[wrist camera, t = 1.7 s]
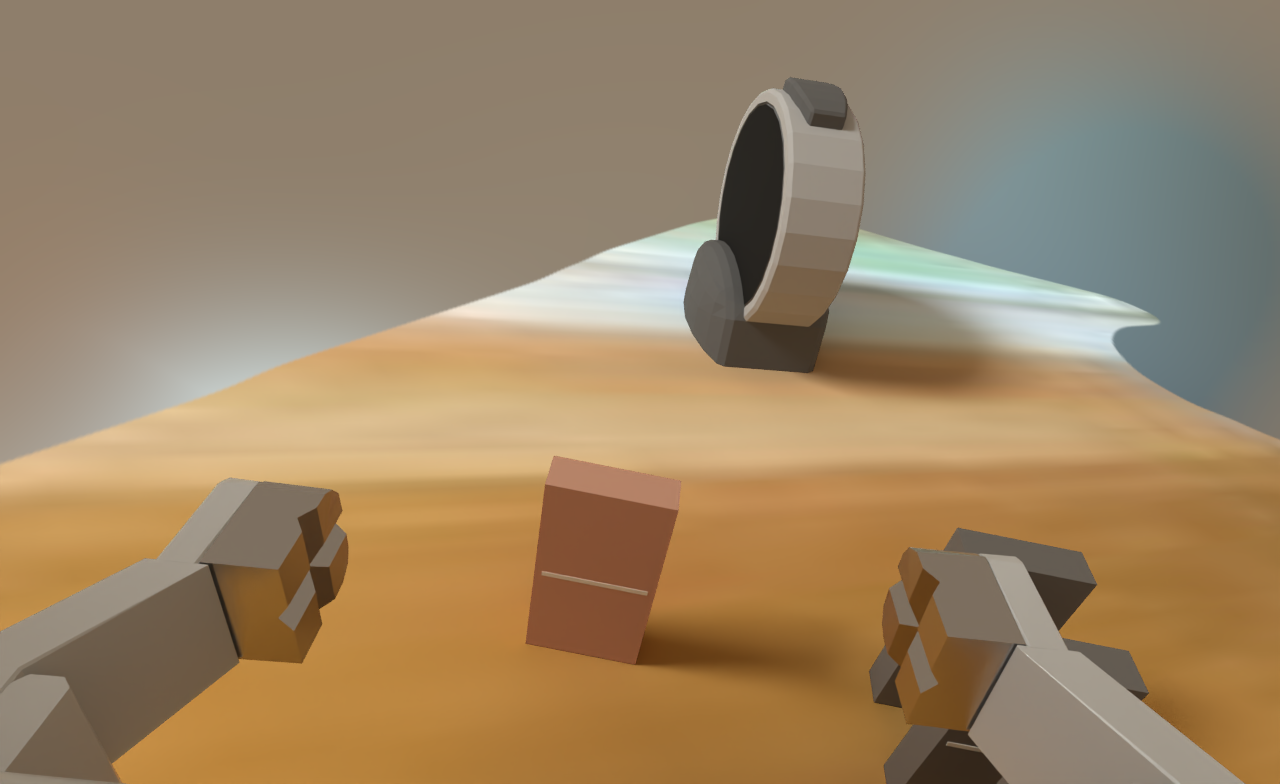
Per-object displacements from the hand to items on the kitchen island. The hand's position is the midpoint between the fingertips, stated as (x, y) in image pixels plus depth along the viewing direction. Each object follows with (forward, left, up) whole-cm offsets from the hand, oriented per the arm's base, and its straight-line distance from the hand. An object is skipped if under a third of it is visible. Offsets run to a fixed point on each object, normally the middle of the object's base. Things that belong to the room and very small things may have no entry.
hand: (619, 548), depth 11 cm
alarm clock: (-16, +42, -22) cm, 50 cm away
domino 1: (-7, +11, -21) cm, 25 cm away
